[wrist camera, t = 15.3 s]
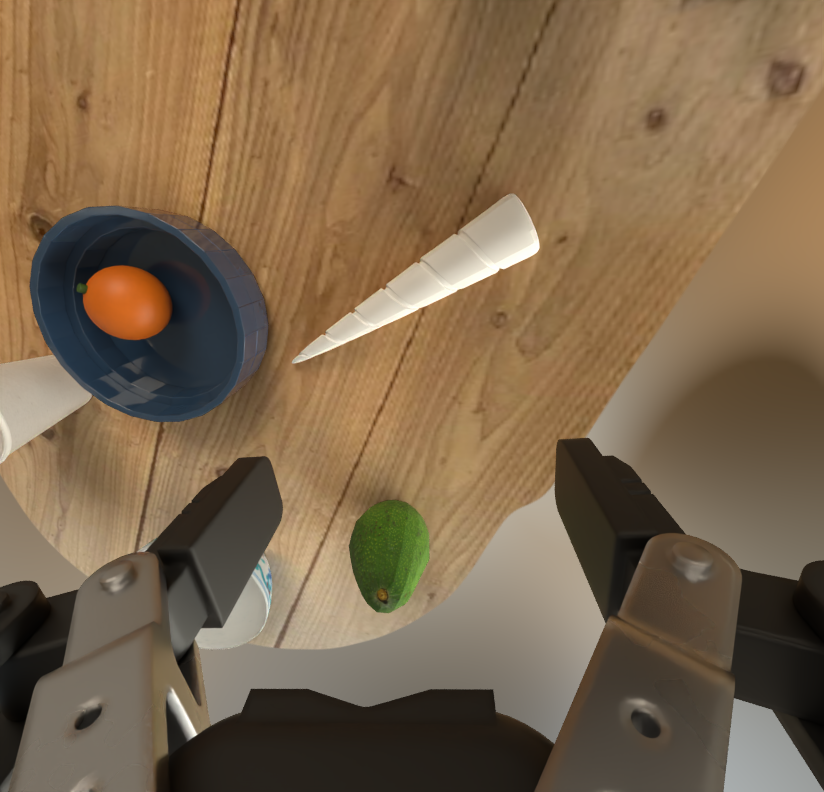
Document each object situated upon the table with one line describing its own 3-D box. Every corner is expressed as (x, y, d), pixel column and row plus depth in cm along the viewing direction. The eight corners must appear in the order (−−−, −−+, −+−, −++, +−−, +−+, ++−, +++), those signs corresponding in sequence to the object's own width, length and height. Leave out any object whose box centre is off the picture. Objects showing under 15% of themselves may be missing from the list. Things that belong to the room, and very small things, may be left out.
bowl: (78, 188, 33) (12, 180, 28) (279, 237, 33) (250, 237, 28) (97, 376, 39) (46, 397, 34) (264, 414, 40) (239, 441, 35)
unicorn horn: (271, 326, 36) (247, 339, 32) (513, 191, 31) (525, 184, 26) (299, 369, 38) (280, 388, 33) (534, 248, 32) (550, 250, 28)
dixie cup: (25, 327, 38) (-109, 357, 29) (110, 361, 39) (7, 401, 29) (23, 399, 41) (-98, 447, 32) (102, 429, 42) (6, 485, 33)
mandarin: (165, 279, 36) (79, 246, 31) (194, 288, 33) (102, 252, 28) (145, 340, 37) (56, 317, 31) (171, 355, 33) (76, 333, 28)
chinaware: (250, 475, 43) (212, 523, 36) (316, 572, 48) (294, 631, 41) (144, 515, 46) (90, 566, 39) (216, 602, 51) (180, 661, 44)
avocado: (443, 502, 42) (444, 596, 31) (410, 550, 45) (400, 651, 34) (378, 470, 41) (355, 556, 30) (348, 521, 44) (318, 617, 33)
